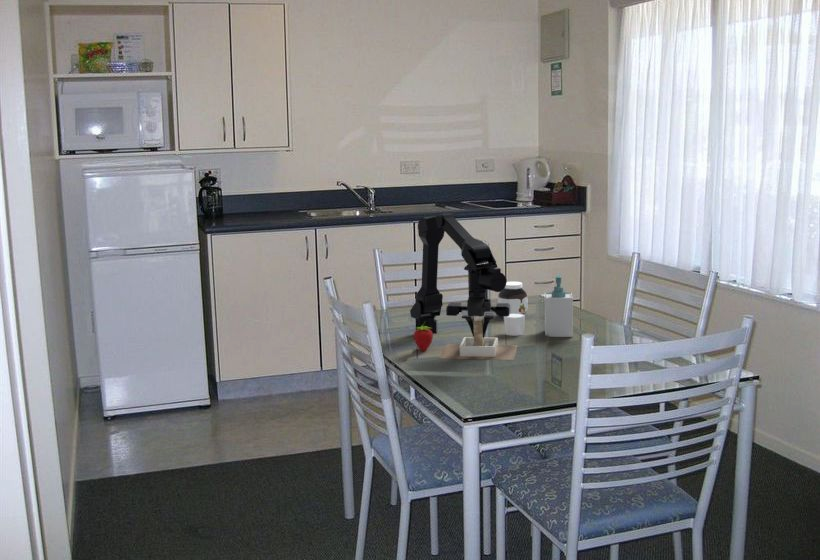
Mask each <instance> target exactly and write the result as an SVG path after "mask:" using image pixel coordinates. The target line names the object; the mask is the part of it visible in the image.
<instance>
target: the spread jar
mask: <svg viewBox="0 0 820 560" xmlns="http://www.w3.org/2000/svg"><path fill="white" fill-rule="evenodd" d="M528 301H529V300H528V293H527V292H526V290H525V289H524V288H523V282H521V281H507V282H506V286H505V288H504V289H503V290H502V291H500V292H498V295H497V303H509V304H510V313H520V314H524V315H525V314H526V313H527V310H528Z"/></svg>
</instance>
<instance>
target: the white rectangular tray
mask: <svg viewBox="0 0 820 560" xmlns="http://www.w3.org/2000/svg"><path fill="white" fill-rule="evenodd" d="M460 344H461V345H460V356H480V357H495V355H496V352H497V349H498V345H499V338H498V337H486V336H484V345H483V346H474V337H473V336H472V337H471V336H467V337H466V336H464V337H463V338H462V341H461V343H460Z"/></svg>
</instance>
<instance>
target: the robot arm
mask: <svg viewBox="0 0 820 560" xmlns="http://www.w3.org/2000/svg"><path fill="white" fill-rule="evenodd" d="M417 233H418V234H417V235H418V238H419V239H420V241H421V243H422V262H421V264H422V268H421V287H420V288H419V290H418V291H417V293H416V297H415V302H414V304H413V305H412V307H411V309H410V311H409V313H410V317H411V318H413V319H414V320H415V328H416V327H421V326H422V325H423V326H427V327H430V328H432V329H430V330H431V331H432V333H433V335H434V334H435V335H436V334H438V331H439V330H438V329H439V328H438V325H439V322H438V320H437V317H439V316H440V315H441V311H442V308H443V305H444V304H443V297H444V296H443V293H441V292H440V291H439V289H438V267H439V264H438V263H439V245H440V244H441V242H442V240H443V238H444V237H445V233H446V234H447V235H448V237H450V239H451V240H452V241H453V242H454V243H455V244H456V245H457V247H459V249H460V250H461V253H460V254H461V257H462V259H463V260H464V261H465V263H466V266H464V268H463V270H464V271H467V278H468V279H467V280H468V282H467V283H468V286H467V288H468V290H467V291H468V298H467V302H466V304H467V305H462V302H450V303H448V305H446V309H445V310H446V311H445V312H446V314H445V315H446V316H449V317H456V316H458V315H460V313H461V319H464V320H465V321H466V322H467V323H468V326H469V329H470V331H471V334H472V337H474V320H475V317H478V318H482V317H483V318H484V325H483V338H484V337H486V332H487V329H488V326H489V323H490V320H493V319H495V318H496V317H495V316H496V315H497V317H504V316H509V315H510V304H509V303H498V302H497V303H496V305H492V301H491V298H490V299H489V291H491V292H495V293H499V292H500V291H502V290H503V289H504V288H505V286H506V282H508V281H507V280H508V279H507V277H506V276H505V274H504V273H503V272H501V271H502V269H501V268H500V267H498V264H497V261H496V259H495V257H494V255H493V252H492V251H491V248H490V247H489V245H488V244H487V243H485V242H484V241H482V240H480V239H478V238H475V237H473V236H472V235H471V234H470V233H469V232H468V231H467V230H466V228H465V227H464V226H463V225H462V224H461V223H460V222H459V221H458V220H457V219H456V217H455V215H454V214H453V213H450V212H449V213H440V214H438V215H436V216H427V217H422V218H420V219H419V220H418V223H417ZM425 321H426V322H425ZM424 322H425V323H424ZM416 330H418V329H415V331H416Z"/></svg>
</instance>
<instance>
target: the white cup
mask: <svg viewBox="0 0 820 560" xmlns="http://www.w3.org/2000/svg"><path fill="white" fill-rule="evenodd" d="M525 318H526V315H525V314H520V313H510V315H509V316H503V323H504V331H505V335H506V336H513V337H514V336H523V335H524V332H525V320H526V319H525Z"/></svg>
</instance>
